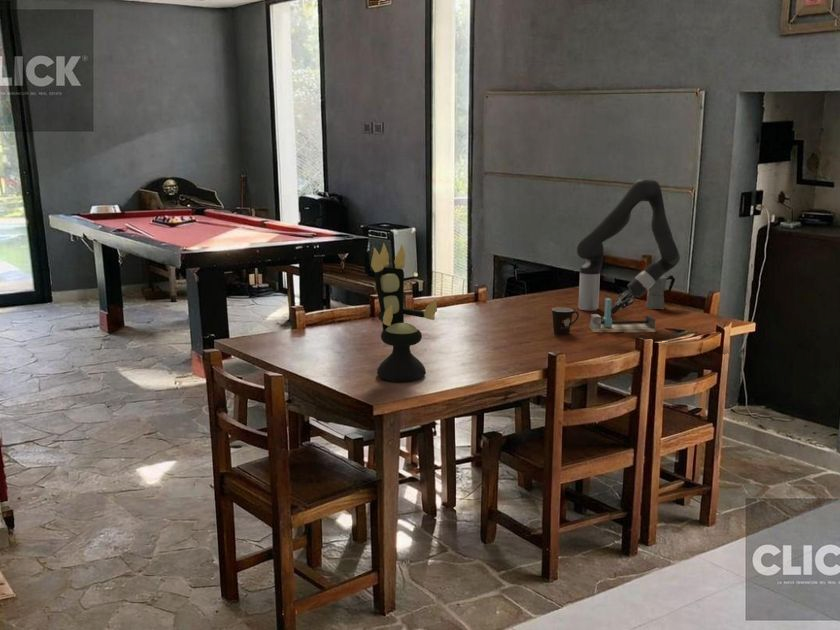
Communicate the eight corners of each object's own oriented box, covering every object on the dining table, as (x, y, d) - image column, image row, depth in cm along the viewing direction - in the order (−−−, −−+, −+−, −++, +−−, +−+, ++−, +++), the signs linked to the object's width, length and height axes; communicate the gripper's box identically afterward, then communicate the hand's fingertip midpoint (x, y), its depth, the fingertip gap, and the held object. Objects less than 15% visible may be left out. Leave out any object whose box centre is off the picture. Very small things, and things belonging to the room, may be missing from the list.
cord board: (648, 327, 363) (649, 312, 361) (655, 332, 355) (656, 316, 353) (589, 328, 361) (589, 313, 359) (594, 332, 353) (595, 317, 351)
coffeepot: (645, 310, 397) (648, 272, 393) (638, 306, 406) (640, 269, 402) (677, 309, 399) (679, 271, 395) (668, 305, 408) (671, 268, 404)
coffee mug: (552, 335, 348) (553, 311, 346) (550, 330, 356) (550, 307, 354) (580, 335, 348) (582, 312, 346) (577, 331, 356) (578, 307, 354)
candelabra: (391, 387, 278) (390, 251, 268) (357, 371, 296) (355, 243, 286) (437, 378, 288) (439, 247, 279) (402, 363, 306) (402, 240, 297)
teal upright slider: (609, 324, 359) (610, 298, 356) (611, 326, 355) (613, 300, 352) (602, 324, 359) (603, 298, 356) (604, 327, 355) (606, 300, 352)
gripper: (630, 274, 360) (600, 303, 361) (640, 280, 347) (609, 309, 348) (642, 286, 361) (612, 315, 363) (652, 292, 348) (621, 322, 350)
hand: (611, 312), depth 356 cm, fingers closed
